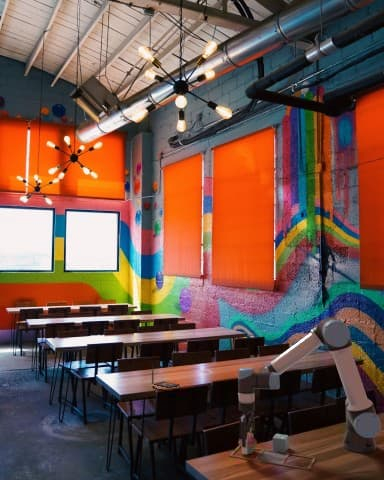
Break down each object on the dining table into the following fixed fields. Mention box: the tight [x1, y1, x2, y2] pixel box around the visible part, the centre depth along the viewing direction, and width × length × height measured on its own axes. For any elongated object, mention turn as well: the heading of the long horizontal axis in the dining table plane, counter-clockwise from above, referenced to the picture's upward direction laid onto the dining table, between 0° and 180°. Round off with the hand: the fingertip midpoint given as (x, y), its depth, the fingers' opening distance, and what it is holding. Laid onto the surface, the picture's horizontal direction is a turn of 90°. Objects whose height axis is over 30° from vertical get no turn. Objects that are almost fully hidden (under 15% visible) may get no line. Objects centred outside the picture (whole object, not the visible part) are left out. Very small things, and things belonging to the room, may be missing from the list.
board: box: [228, 444, 317, 471], centre depth 215 cm, size 14×37×1 cm, turn 64°
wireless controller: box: [151, 364, 180, 388], centre depth 342 cm, size 20×14×17 cm
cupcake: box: [238, 426, 258, 455], centre depth 220 cm, size 9×8×12 cm
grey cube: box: [272, 433, 289, 453], centre depth 225 cm, size 6×6×6 cm
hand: (247, 450), depth 220 cm, fingers closed on cupcake, 8 cm apart
